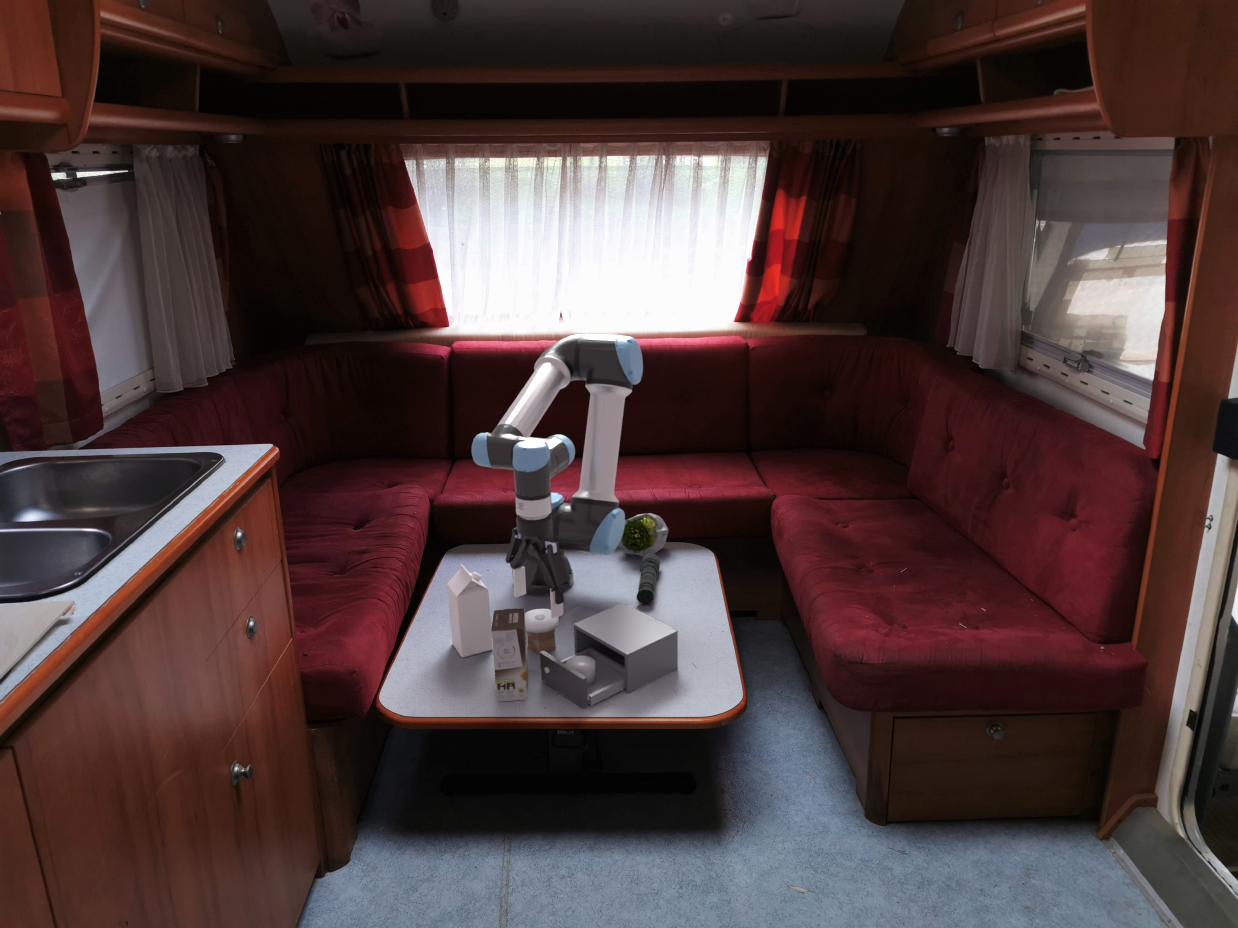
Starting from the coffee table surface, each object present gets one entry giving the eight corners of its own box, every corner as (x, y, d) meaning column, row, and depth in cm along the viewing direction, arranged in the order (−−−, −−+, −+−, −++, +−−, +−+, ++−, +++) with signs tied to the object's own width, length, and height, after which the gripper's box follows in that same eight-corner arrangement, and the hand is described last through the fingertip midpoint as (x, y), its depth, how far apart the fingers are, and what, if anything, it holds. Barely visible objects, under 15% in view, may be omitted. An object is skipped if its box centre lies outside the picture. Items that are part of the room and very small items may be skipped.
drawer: (538, 680, 187) (536, 652, 185) (590, 655, 196) (589, 628, 194) (583, 710, 177) (581, 681, 175) (636, 683, 185) (636, 654, 183)
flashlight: (660, 569, 238) (660, 552, 236) (655, 606, 218) (655, 588, 217) (641, 569, 238) (641, 552, 237) (634, 606, 219) (634, 587, 217)
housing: (575, 661, 195) (573, 623, 192) (623, 638, 204) (623, 602, 201) (628, 693, 183) (627, 654, 180) (677, 668, 191) (677, 630, 188)
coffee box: (528, 700, 181) (523, 629, 176) (496, 702, 181) (490, 631, 176) (528, 675, 190) (524, 607, 185) (498, 677, 189) (493, 608, 184)
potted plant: (678, 535, 249) (668, 543, 235) (642, 563, 252) (630, 572, 238) (651, 501, 251) (639, 506, 236) (616, 528, 254) (602, 535, 239)
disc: (514, 623, 199) (514, 616, 198) (544, 611, 204) (543, 604, 203) (536, 636, 193) (535, 629, 193) (565, 624, 198) (565, 617, 198)
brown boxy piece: (527, 647, 201) (526, 623, 199) (543, 640, 203) (542, 617, 201) (539, 655, 197) (538, 630, 196) (555, 648, 200) (554, 624, 198)
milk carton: (462, 658, 197) (455, 579, 191) (452, 644, 203) (445, 567, 197) (493, 650, 200) (487, 572, 194) (482, 636, 206) (476, 560, 200)
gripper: (486, 503, 197) (491, 591, 203) (555, 534, 179) (559, 631, 185) (514, 495, 201) (519, 582, 208) (585, 525, 183) (588, 619, 190)
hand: (538, 605), depth 197 cm, fingers open, 13 cm apart
